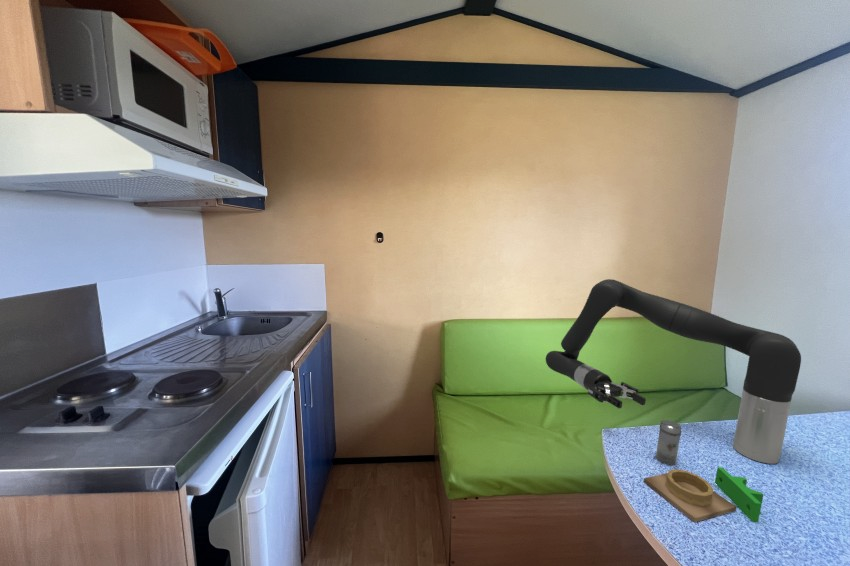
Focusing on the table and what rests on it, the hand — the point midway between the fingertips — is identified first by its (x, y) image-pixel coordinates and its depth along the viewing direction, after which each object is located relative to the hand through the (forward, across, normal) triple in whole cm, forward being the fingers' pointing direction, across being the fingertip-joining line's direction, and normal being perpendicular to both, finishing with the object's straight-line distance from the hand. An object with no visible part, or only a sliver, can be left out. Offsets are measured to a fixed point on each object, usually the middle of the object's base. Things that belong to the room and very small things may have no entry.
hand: (633, 403), depth 101 cm
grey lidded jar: (+12, 0, +10) cm, 15 cm away
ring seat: (+22, -7, +10) cm, 25 cm away
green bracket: (+27, +3, +10) cm, 29 cm away
